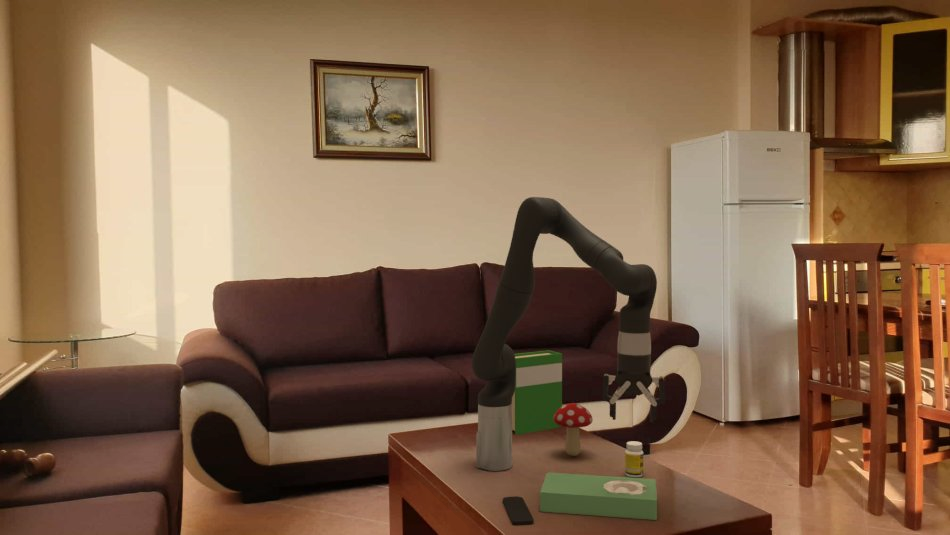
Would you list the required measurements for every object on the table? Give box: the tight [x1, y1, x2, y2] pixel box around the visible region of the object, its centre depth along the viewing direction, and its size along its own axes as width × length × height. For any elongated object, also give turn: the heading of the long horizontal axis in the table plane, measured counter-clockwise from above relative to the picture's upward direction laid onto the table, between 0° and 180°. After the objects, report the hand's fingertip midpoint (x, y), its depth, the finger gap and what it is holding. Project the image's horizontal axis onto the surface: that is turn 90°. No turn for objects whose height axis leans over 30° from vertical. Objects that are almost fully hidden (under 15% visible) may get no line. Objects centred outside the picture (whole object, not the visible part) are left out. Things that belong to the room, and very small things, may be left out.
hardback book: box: [512, 349, 563, 436], centre depth 243 cm, size 18×7×24 cm, turn 120°
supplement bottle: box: [624, 440, 644, 478], centre depth 197 cm, size 5×5×8 cm
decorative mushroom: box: [554, 402, 593, 457], centre depth 213 cm, size 11×11×15 cm
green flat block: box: [539, 472, 658, 521], centre depth 177 cm, size 26×14×4 cm, turn 78°
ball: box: [616, 487, 630, 492], centre depth 175 cm, size 4×4×4 cm
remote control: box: [502, 495, 535, 527], centre depth 172 cm, size 5×2×15 cm
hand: (632, 420), depth 175 cm, fingers open, 8 cm apart
